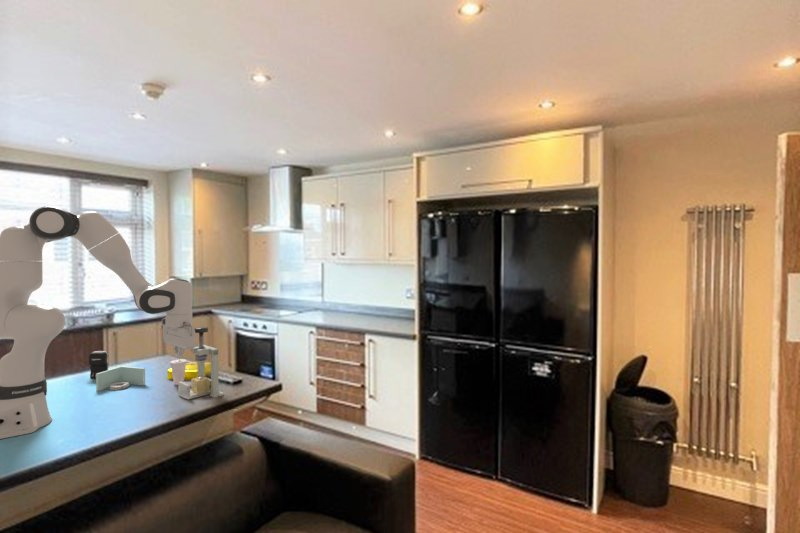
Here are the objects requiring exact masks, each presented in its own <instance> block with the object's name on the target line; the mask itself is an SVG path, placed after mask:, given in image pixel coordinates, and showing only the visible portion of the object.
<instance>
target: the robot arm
mask: <svg viewBox="0 0 800 533" xmlns="http://www.w3.org/2000/svg"><path fill="white" fill-rule="evenodd" d="M28 220H29V222H28V223H27V224H25V225H15V226H9V227H7V228H4V229H3V230H2V231H1V233H0V340H13V344H12V349H11V350H10V352H8V353H6V354H4V355H3V356H2V357H0V440H1V439H6V438H12V437H15V436H16V437H17V436H22V435H27V434H31V433H34V432H36V431H38V429H40V428H43V427H45V426H46V425H49V424H50V423H51V422H52V421H53V418H52V416H51V413H50V411H49V407H48V403H47V402H48V401H47V397H46V396H47V394H48V381H47V378H45V364H46V363H45V360H46V359H45V358H46V353H47V351H48V347H49V346H50V344H51V342H52V341H53V340H54V339H55V338H56V337H57V336H58V335H60V334H61V333H62V332H63V330H64V328H65V325H66V316H65V314H64V312H63V311H62V310H61V309H59V308H57V307H54V306H49V305H45V304H29V303H28V302H29V299H30V296H31V295H32V293H33V292H35V291H37V290H38V289H40V288H41V287H42V285H43V281H44V280H43V250H44V245H45V244H46V243H50V242H54V241H55V242H56V241H60V240H63V239H66V238H68V237H69V238H74V239H75V240H78V241H79V242H80V243H81V245H83V246H84V247H85V249H86V250H87V251H88V253H89V254H90V255H91V256H92V257H93V258H95V259H96V260H97V261H98V262H99V263H100V264H102V265H103V266H104V267H106V268H108V270H110V271H112V272H114V273H115V274H116V275H117V276H118V277H119V278H120V279H121V281H122V282H123V283H124V284H125V285H126V286H127V287H126V288H128V289H129V290H130V292H131V293H132V295H133V300H134V303H135V305H136V307H137V308H138V309H139V310H140V311H142V312H145V313H146V314H149V315H157V314H158V315H159V314H160V313H161V314H162V313H165V312H166V316H165V317H163V318H162V319H161V324H162V338H163V343H164V344H167V345H170V346H173V351H174V357H175V358H177V359H179V358H180V359H183V358H184V352H185V350H191V349H192V348H195V347H197V343H196V342H197V341H196V340H197V339H196V333H195V330H194V328H195V327H193V310H192V306H193V300H194V299H193V287H192V283H191V282H190V281H189V280H186V279H181V278H176V277H172V278H169V279H168V280H166V281H165V282H162V283H160V284H157V285H152V284H151V283H149V281H148V280H147V279H146V278H145V277H144V276H143V275H142V273H141V272H140V270H139V269H138V268H137V267H136V265H135V264H134V262H133V259H132V255H131V250H130V247H129V246H128V243H127V242H126V240H125V238H124V237H123V236H122V234H121V233H119V230H118V229H116V227H115V226H114V225H112V223H111V222H110V221H109V220H107V218H106V217H104V216H103V215H102V214H101V213H99V212H97V211H94V210H90V211H84V212H82V213H80V214H77V215H76V214H75V213H72V212H70V211H68V210H66V209H63V208H61V207H59V206H53V205H47V206H41V207H38V208H37V209H35V210H34V211H33V212H32V213H31V215H30V217H29V219H28Z"/></svg>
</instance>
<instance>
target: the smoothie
mask: <svg viewBox="0 0 800 533" xmlns="http://www.w3.org/2000/svg"><path fill="white" fill-rule="evenodd" d="M187 362H188V361H187V359H183V358H177V359H173V360H171V361H170V362H169V365H170V367H171V368H172V375H173V381H172V382H173V385H174V386H178V382H183V383H185V380H184V377H185V368H186V363H187ZM171 368H170V369H171Z"/></svg>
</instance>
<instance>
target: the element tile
mask: <svg viewBox="0 0 800 533" xmlns="http://www.w3.org/2000/svg"><path fill="white" fill-rule="evenodd" d="M210 372H211V361H210V362H209V361H208V362H205V377H207V376H208V375H210V374H211V373H210ZM209 373H210V374H209ZM207 374H208V375H207ZM206 375H207V376H206ZM197 377H198V368H197V361H187V363H186V368H185V377H184V381H185V380H186V381H191V379H193V378H197ZM166 378H167V380H170V381H172V380H173V375H172V368H168V369H167V376H166Z"/></svg>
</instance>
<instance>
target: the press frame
mask: <svg viewBox="0 0 800 533" xmlns="http://www.w3.org/2000/svg"><path fill="white" fill-rule="evenodd" d="M190 354H194V355H196V354H197V355H199V356H201V355H206V354H208V355H210V362H211V373H210V379H211V394H209V396H210V397H211V396H212V397H211V398H213V397H214V399H215V398H218V396H219V397H223V396H224V395H225V393H224V392H222V391H219V387H220V386H219V380H220V379H219V348H216V347H213V346H210V345H209V346H208V345H206V344H204V349H199V344H196V346H195V348H192V349H190ZM205 361H206V360H204V361H196V362H197V368H198V377H202V376H205ZM205 377H206V376H205Z"/></svg>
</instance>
